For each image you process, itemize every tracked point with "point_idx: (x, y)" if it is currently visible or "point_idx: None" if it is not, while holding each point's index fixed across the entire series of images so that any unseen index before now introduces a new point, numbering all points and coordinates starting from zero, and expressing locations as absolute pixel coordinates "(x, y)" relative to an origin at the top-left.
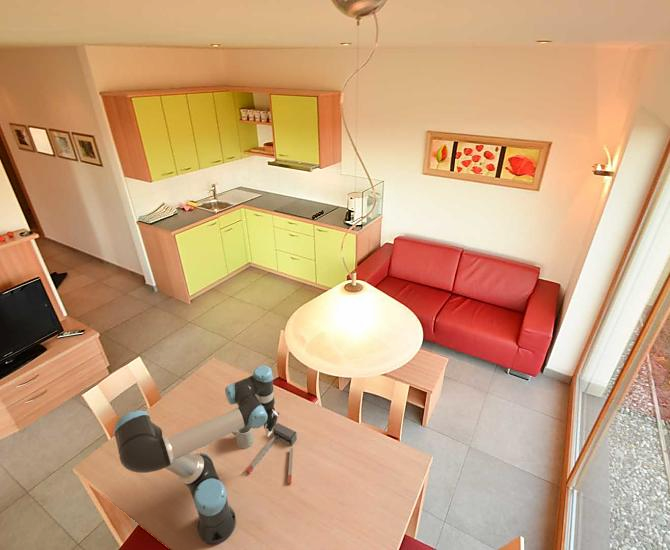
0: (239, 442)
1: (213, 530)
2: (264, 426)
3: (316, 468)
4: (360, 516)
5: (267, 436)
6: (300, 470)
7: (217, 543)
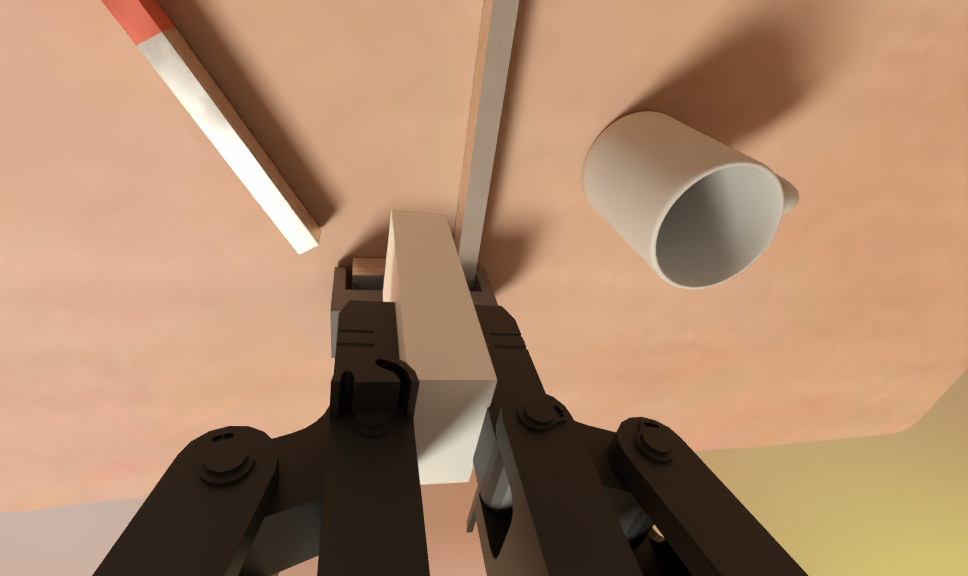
0: (680, 125)
1: None
2: (510, 347)
3: (48, 195)
4: None
5: (405, 212)
6: (143, 130)
7: None
